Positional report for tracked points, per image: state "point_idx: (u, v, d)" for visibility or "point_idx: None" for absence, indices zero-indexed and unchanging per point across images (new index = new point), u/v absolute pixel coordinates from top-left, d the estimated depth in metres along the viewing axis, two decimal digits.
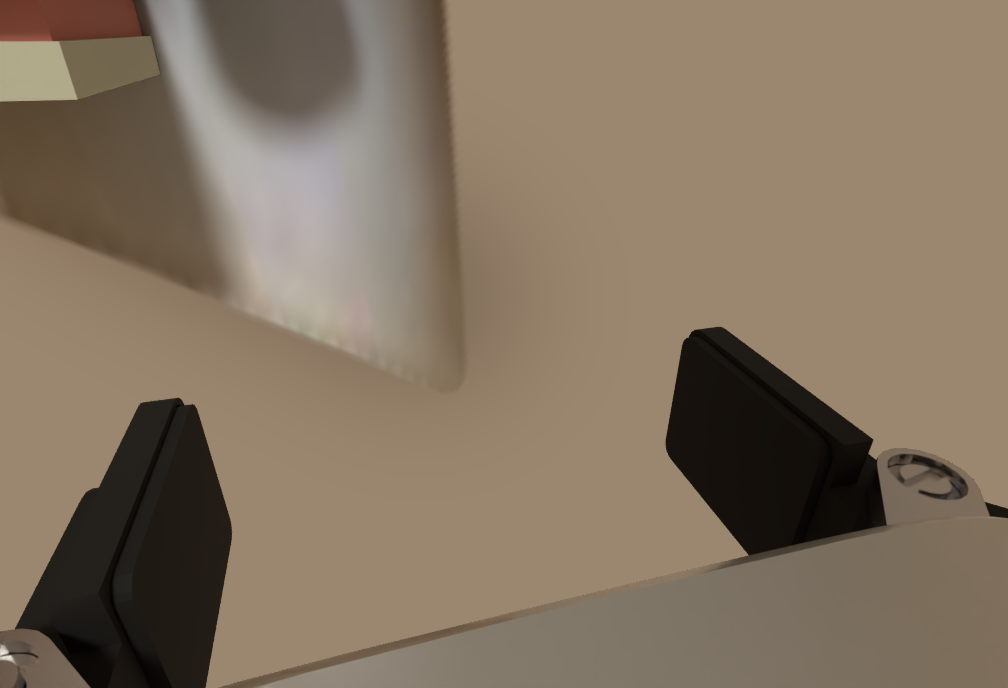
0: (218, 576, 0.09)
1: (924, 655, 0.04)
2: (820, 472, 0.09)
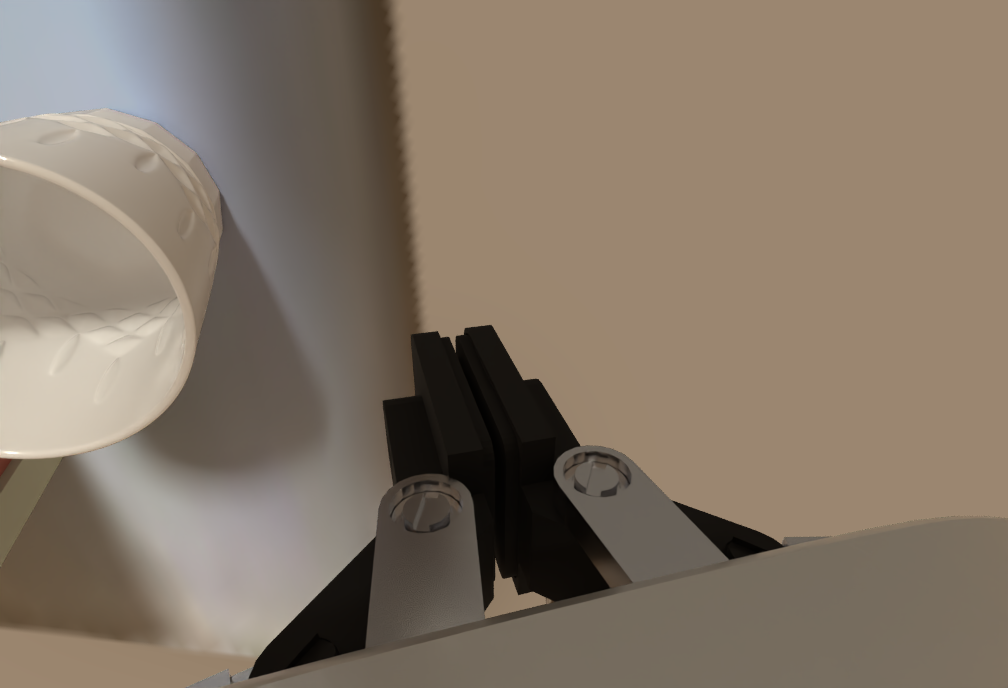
0: None
1: (923, 654, 0.04)
2: (512, 470, 0.09)
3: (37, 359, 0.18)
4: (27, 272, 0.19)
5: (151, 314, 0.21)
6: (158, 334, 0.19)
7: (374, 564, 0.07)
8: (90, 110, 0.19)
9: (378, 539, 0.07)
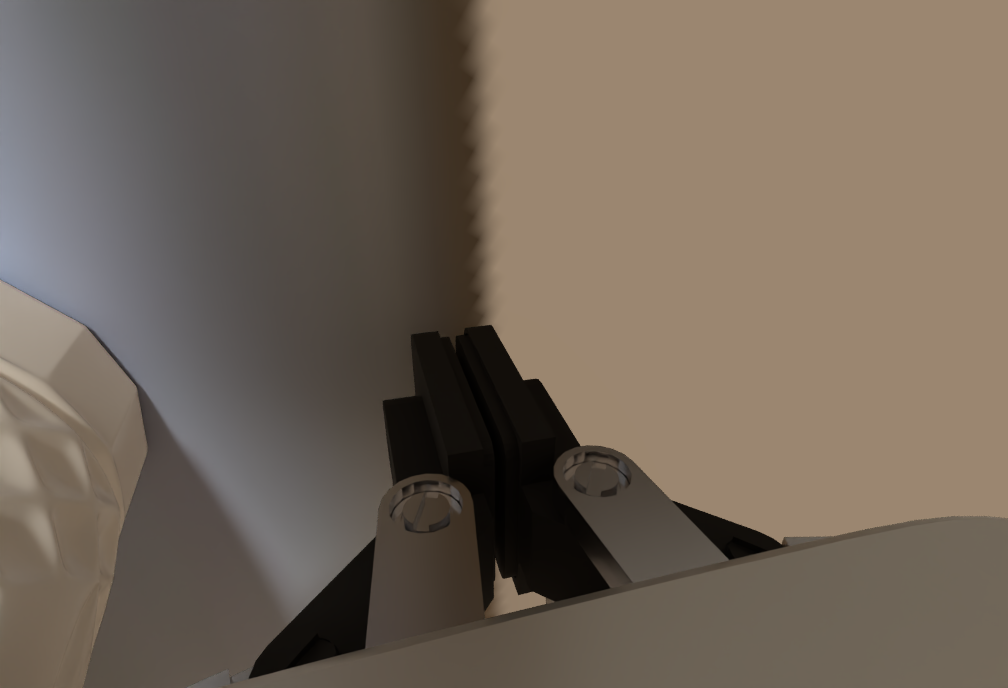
0: None
1: (924, 655, 0.04)
2: (512, 470, 0.09)
3: None
4: None
5: None
6: None
7: (374, 564, 0.07)
8: None
9: (378, 539, 0.07)
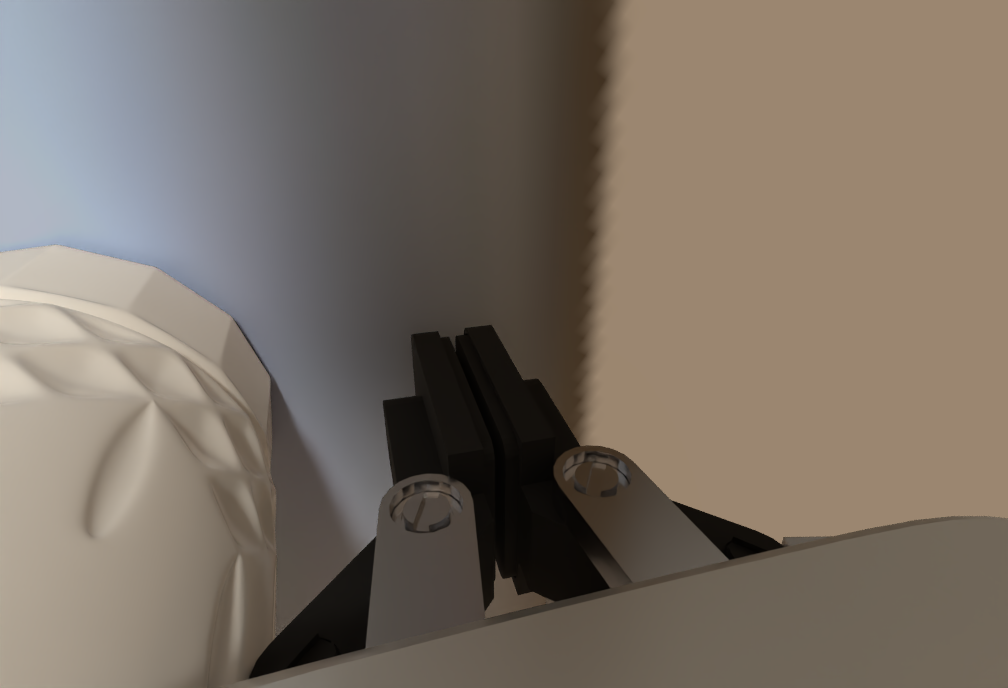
0: None
1: (923, 656, 0.04)
2: (512, 469, 0.09)
3: None
4: None
5: None
6: None
7: (374, 564, 0.07)
8: (18, 257, 0.09)
9: (378, 539, 0.07)
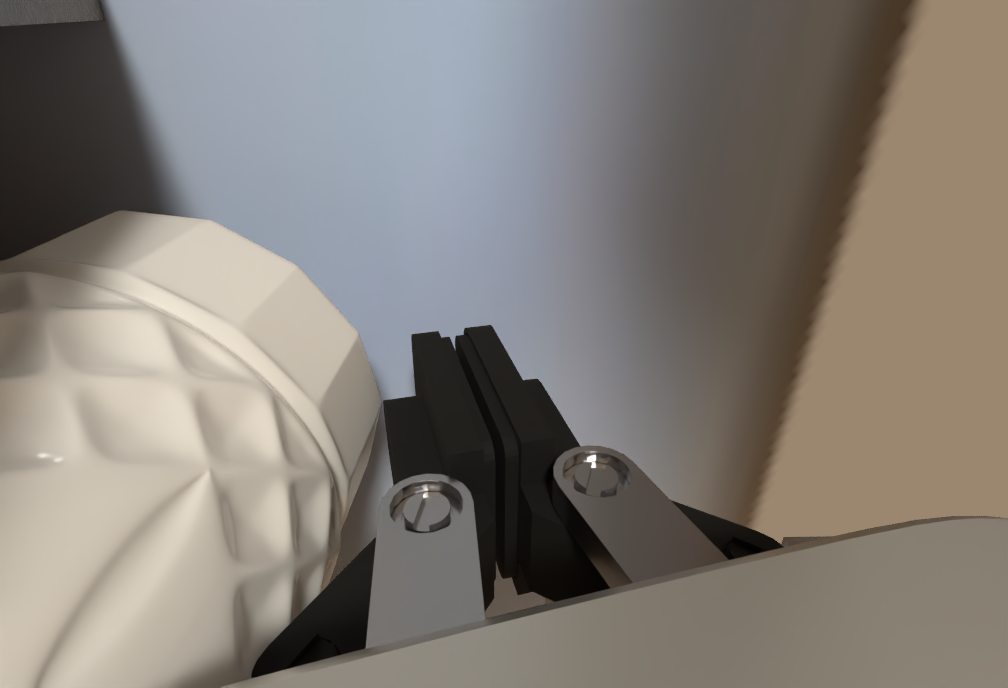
0: None
1: (923, 654, 0.04)
2: (512, 470, 0.09)
3: None
4: None
5: None
6: None
7: (374, 564, 0.07)
8: (167, 229, 0.09)
9: (378, 539, 0.07)
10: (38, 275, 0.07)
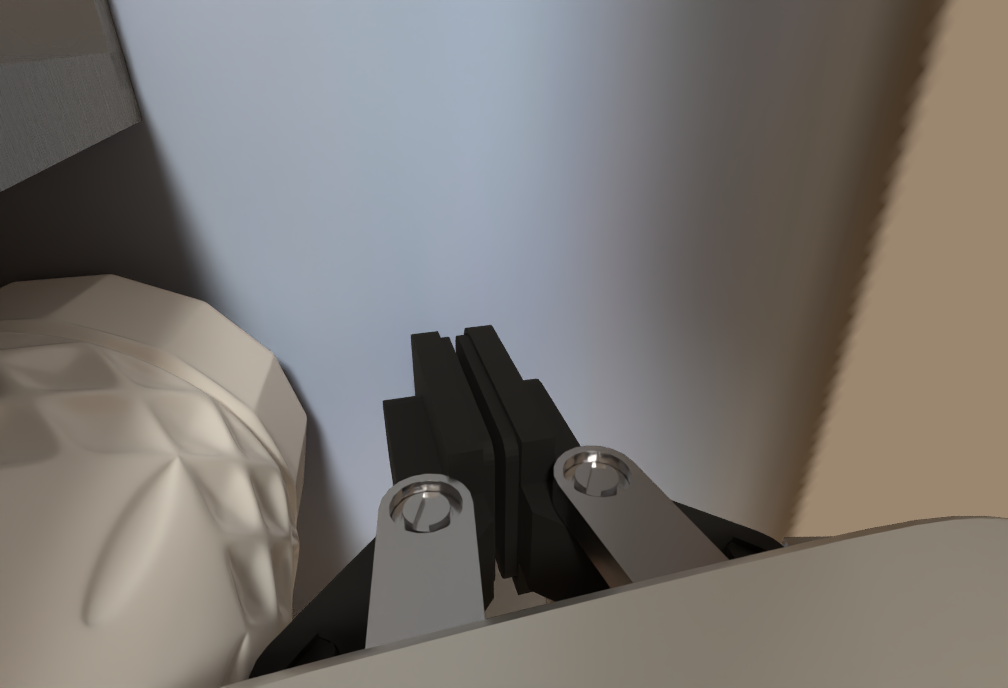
0: None
1: (926, 655, 0.04)
2: (512, 470, 0.09)
3: None
4: None
5: None
6: None
7: (374, 564, 0.07)
8: (72, 286, 0.09)
9: (378, 539, 0.07)
10: None
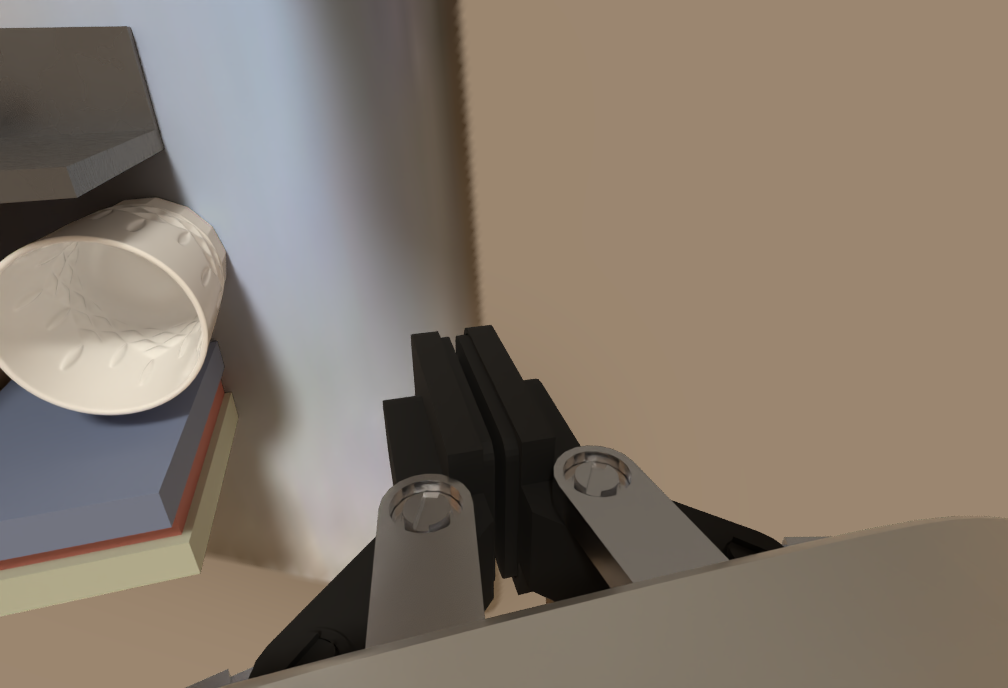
0: None
1: (924, 656, 0.04)
2: (512, 470, 0.09)
3: (102, 357, 0.27)
4: (95, 301, 0.29)
5: (174, 332, 0.31)
6: (179, 345, 0.29)
7: (374, 564, 0.07)
8: (146, 199, 0.30)
9: (378, 539, 0.07)
10: (127, 204, 0.28)
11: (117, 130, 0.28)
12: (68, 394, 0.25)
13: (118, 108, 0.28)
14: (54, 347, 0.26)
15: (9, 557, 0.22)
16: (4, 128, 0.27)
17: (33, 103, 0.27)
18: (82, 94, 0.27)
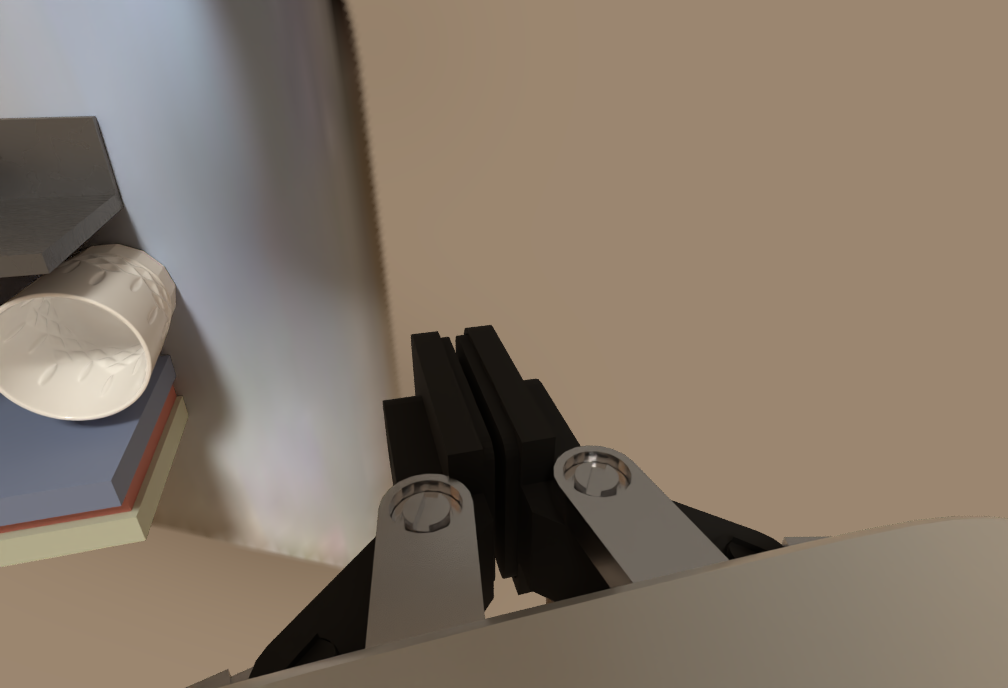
0: None
1: (924, 655, 0.04)
2: (512, 470, 0.09)
3: (72, 373, 0.35)
4: (68, 327, 0.37)
5: (131, 351, 0.38)
6: (134, 363, 0.37)
7: (374, 564, 0.07)
8: (109, 246, 0.38)
9: (378, 539, 0.07)
10: (93, 254, 0.36)
11: (85, 194, 0.36)
12: (45, 404, 0.33)
13: (86, 178, 0.36)
14: (34, 367, 0.34)
15: (0, 524, 0.30)
16: None
17: (18, 174, 0.35)
18: (57, 167, 0.35)
